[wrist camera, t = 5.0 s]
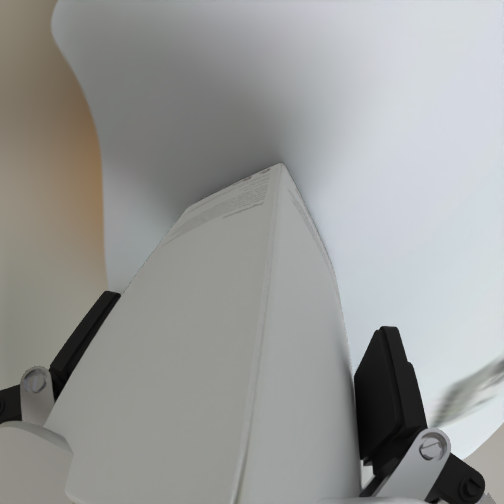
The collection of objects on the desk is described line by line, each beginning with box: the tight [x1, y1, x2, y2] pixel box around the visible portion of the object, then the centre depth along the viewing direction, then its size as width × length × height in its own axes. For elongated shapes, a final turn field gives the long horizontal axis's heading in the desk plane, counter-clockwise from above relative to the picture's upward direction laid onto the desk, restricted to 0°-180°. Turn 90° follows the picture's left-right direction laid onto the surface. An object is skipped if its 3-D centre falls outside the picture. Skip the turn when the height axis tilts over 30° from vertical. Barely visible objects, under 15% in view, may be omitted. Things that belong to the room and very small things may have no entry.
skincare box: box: [43, 163, 363, 504], centre depth 11 cm, size 8×7×16 cm
